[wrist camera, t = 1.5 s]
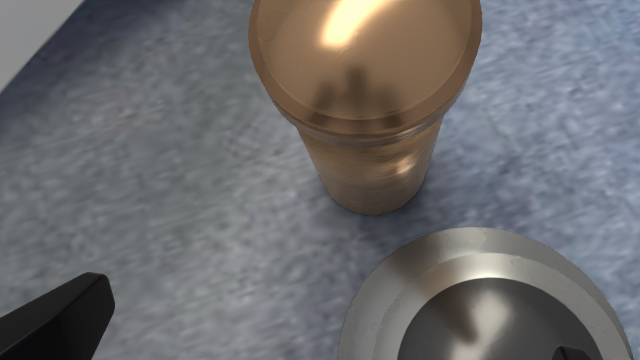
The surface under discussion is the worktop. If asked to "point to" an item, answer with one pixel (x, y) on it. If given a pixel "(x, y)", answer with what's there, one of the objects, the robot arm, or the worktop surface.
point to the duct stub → (478, 303)
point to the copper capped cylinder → (366, 86)
